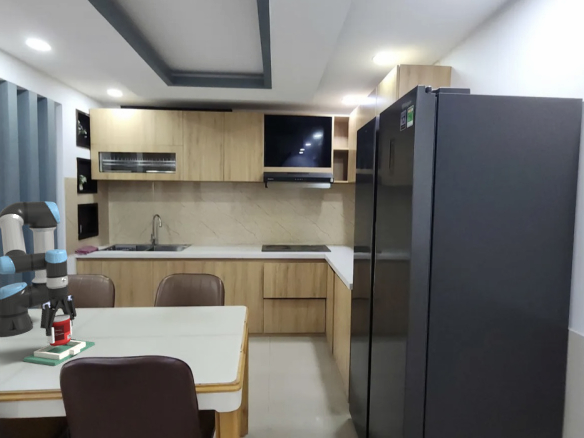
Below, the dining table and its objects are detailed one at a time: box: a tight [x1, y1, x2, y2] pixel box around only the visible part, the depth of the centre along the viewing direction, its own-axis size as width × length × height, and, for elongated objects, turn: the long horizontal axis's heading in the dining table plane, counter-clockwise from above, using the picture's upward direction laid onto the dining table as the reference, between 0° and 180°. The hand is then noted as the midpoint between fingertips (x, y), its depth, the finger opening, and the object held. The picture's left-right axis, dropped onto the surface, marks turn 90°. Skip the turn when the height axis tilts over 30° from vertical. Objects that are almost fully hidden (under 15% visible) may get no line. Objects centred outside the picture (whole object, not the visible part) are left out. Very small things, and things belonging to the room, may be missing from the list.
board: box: [23, 338, 96, 367], centre depth 149 cm, size 18×20×3 cm
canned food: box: [49, 313, 72, 346], centre depth 147 cm, size 8×8×11 cm
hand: (60, 338), depth 147 cm, fingers closed on canned food, 8 cm apart
